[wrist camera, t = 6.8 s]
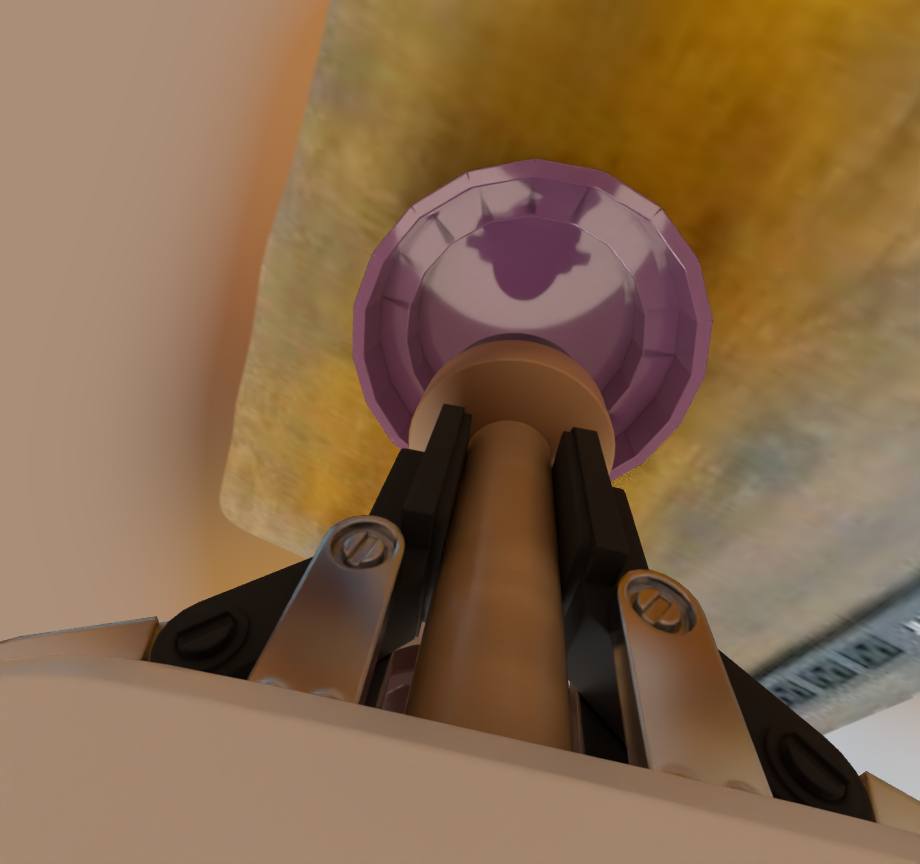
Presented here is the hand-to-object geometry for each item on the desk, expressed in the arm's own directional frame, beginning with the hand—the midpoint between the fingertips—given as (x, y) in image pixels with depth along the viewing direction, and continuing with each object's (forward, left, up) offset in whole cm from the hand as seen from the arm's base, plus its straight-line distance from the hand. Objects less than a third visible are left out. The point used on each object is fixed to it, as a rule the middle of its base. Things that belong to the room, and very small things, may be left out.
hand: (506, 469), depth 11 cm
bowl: (0, +1, -16) cm, 16 cm away
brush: (0, 0, -4) cm, 4 cm away
